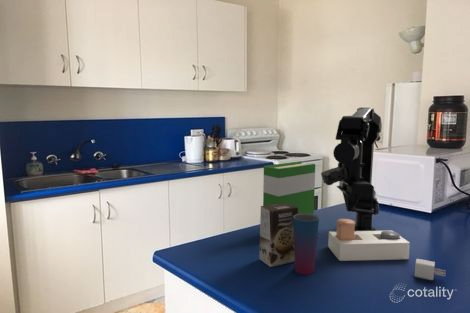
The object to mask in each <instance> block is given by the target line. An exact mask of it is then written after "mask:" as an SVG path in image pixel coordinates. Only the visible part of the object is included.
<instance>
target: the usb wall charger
mask: <svg viewBox="0 0 470 313" xmlns="http://www.w3.org/2000/svg"><path fill="white" fill-rule="evenodd" d="M435 265H436V262H435V261H430V260H427V259H421V258H416V260H415V267H414V277H415V278H419V279H424V280H428V281H434V278H435V275H436V276H442V277H446V273H447V272H446V270H445V269H440V268H436V267H435Z"/></svg>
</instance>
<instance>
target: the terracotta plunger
mask: <svg viewBox="0 0 470 313" xmlns="http://www.w3.org/2000/svg"><path fill="white" fill-rule="evenodd" d="M355 223H356V221H355V220H352V219H348V218H339V219H337V220H336V231H335V232H336V236H337V238H338V239H339V240H354V231H356V229H355Z"/></svg>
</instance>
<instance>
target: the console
mask: <svg viewBox="0 0 470 313" xmlns="http://www.w3.org/2000/svg"><path fill="white" fill-rule="evenodd" d="M382 231H383V230H376V231H358V230H354V240H339V239H338V238H337V236H336V232H337V231H328V243H327V244H328V245H327V247H328V248H329V249H330V251H331V252H332V253H333V255H334V256H335V257H336V258H337V260H338V261H341V262H342V261H344V262H345V261H347V262H348V261H386V260H387V261H388V260H393V261H394V260H409V259H410V246H411V245H410V244H411V243H410V241H408V240H407V239H405V238H404V237H402V236H401V235H400V237H399V238H400V239H382V240H381V232H382ZM390 231H393V232H395V231H394V230H390Z"/></svg>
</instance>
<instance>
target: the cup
mask: <svg viewBox="0 0 470 313" xmlns="http://www.w3.org/2000/svg"><path fill="white" fill-rule="evenodd" d="M319 221H320V217H319V216H318V215H316V214H314V215H313V214H296V215H294V216H293V228H294V254H295V262H294V271H295V272H296V273H297V274H300V275H305V276H306V275H312V274H314V272H315V263H316V255H317V254H316V252H317V243H318V241H317V240H318V234H319V232H318V231H319V223H320V222H319Z"/></svg>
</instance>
